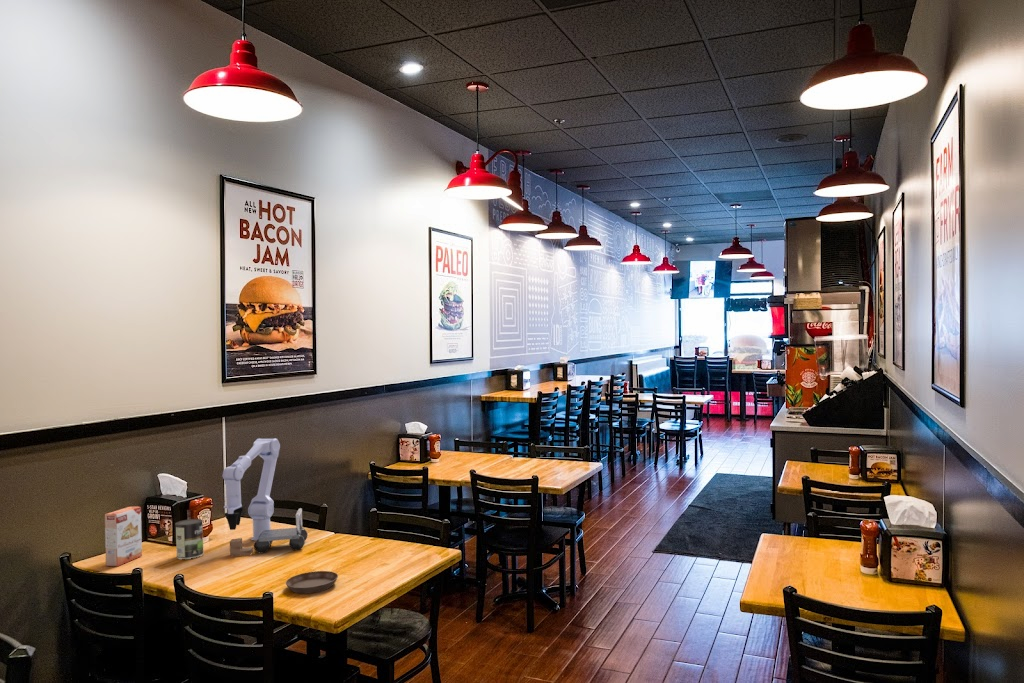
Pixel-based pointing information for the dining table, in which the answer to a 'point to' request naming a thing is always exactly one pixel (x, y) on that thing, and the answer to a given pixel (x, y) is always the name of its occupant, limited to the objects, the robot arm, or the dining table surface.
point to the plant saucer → (312, 581)
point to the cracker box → (123, 536)
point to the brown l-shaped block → (239, 548)
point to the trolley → (283, 536)
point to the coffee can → (189, 538)
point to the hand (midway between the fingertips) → (234, 527)
